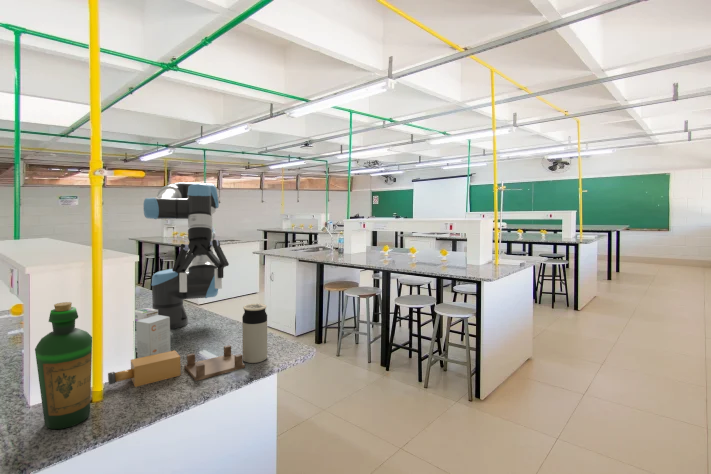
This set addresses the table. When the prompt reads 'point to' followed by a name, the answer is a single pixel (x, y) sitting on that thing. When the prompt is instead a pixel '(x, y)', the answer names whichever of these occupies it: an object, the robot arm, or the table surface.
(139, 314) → the syrup box
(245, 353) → the travel mug
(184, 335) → the table surface
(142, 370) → the amber bottle
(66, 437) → the table surface
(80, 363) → the bottle
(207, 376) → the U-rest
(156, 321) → the small box
